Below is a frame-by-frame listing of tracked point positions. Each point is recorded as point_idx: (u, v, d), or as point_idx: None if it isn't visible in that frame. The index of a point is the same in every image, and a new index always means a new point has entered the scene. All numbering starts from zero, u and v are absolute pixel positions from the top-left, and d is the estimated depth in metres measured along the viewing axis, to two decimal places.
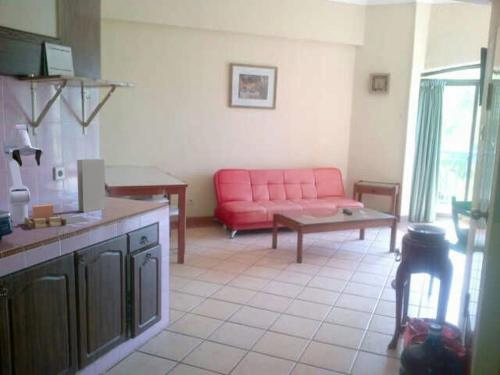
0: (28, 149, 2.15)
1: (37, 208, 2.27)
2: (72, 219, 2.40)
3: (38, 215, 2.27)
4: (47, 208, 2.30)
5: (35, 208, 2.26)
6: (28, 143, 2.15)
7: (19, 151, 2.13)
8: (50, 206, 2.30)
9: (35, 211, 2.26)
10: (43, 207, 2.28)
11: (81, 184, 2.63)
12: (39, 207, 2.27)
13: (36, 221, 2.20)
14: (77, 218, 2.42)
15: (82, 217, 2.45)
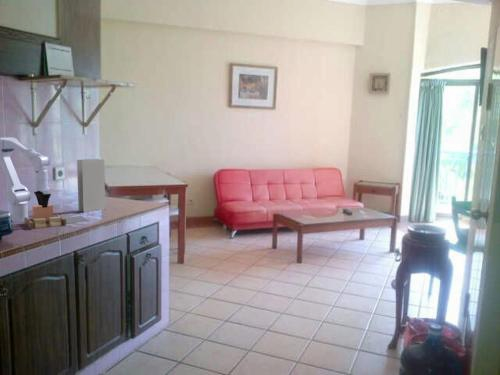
0: None
1: (37, 208, 2.27)
2: (72, 219, 2.40)
3: (38, 215, 2.27)
4: (47, 208, 2.30)
5: (35, 208, 2.26)
6: None
7: None
8: (50, 206, 2.30)
9: (35, 211, 2.26)
10: None
11: (81, 184, 2.63)
12: (39, 207, 2.27)
13: (36, 221, 2.20)
14: (77, 218, 2.42)
15: (82, 217, 2.45)
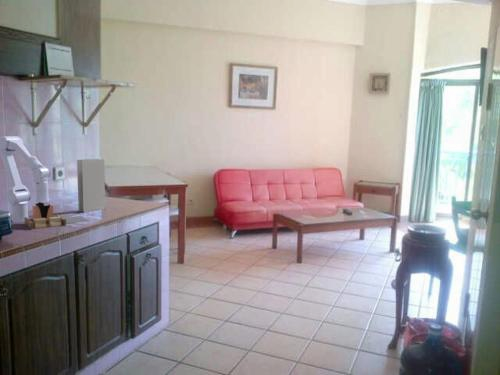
0: None
1: (37, 208, 2.27)
2: (72, 219, 2.40)
3: (38, 215, 2.27)
4: None
5: (35, 208, 2.26)
6: None
7: None
8: (50, 206, 2.30)
9: (35, 211, 2.26)
10: None
11: (81, 184, 2.63)
12: None
13: (36, 221, 2.20)
14: (77, 218, 2.42)
15: (82, 217, 2.45)
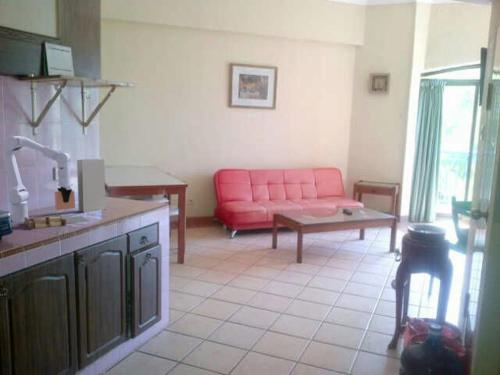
0: None
1: (59, 194, 2.32)
2: (72, 219, 2.40)
3: (60, 201, 2.33)
4: None
5: (57, 194, 2.32)
6: None
7: None
8: (71, 192, 2.36)
9: (57, 197, 2.32)
10: None
11: (81, 184, 2.63)
12: (61, 193, 2.33)
13: (36, 221, 2.20)
14: (77, 218, 2.42)
15: (82, 217, 2.45)
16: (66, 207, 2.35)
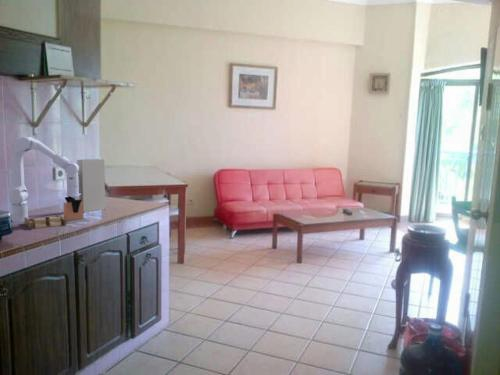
0: None
1: (68, 205, 2.36)
2: None
3: (69, 212, 2.37)
4: None
5: (66, 205, 2.35)
6: None
7: None
8: (80, 203, 2.39)
9: (66, 208, 2.35)
10: None
11: (81, 184, 2.63)
12: (70, 204, 2.36)
13: (36, 221, 2.20)
14: None
15: None
16: (74, 218, 2.39)
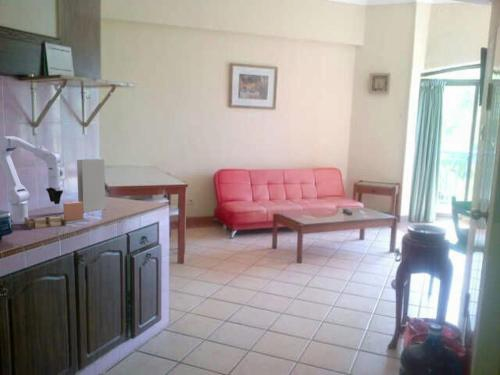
0: None
1: (68, 205, 2.36)
2: None
3: (69, 212, 2.37)
4: (77, 205, 2.39)
5: (66, 205, 2.35)
6: None
7: None
8: (80, 203, 2.39)
9: (66, 208, 2.35)
10: (73, 204, 2.37)
11: (81, 184, 2.63)
12: (70, 204, 2.36)
13: (36, 221, 2.20)
14: None
15: None
16: (74, 218, 2.39)
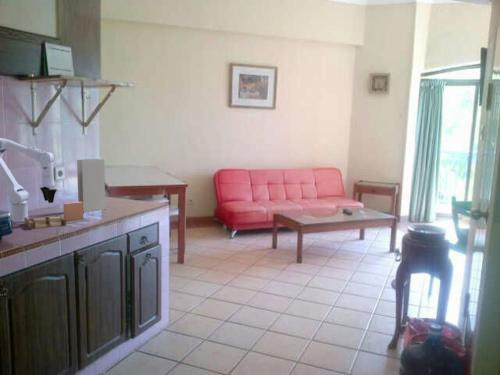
0: None
1: (68, 205, 2.36)
2: None
3: (69, 212, 2.37)
4: (77, 205, 2.39)
5: (66, 205, 2.35)
6: None
7: None
8: (80, 203, 2.39)
9: (66, 208, 2.35)
10: (73, 204, 2.37)
11: (81, 184, 2.63)
12: (70, 204, 2.36)
13: (36, 221, 2.20)
14: None
15: None
16: (74, 218, 2.39)
